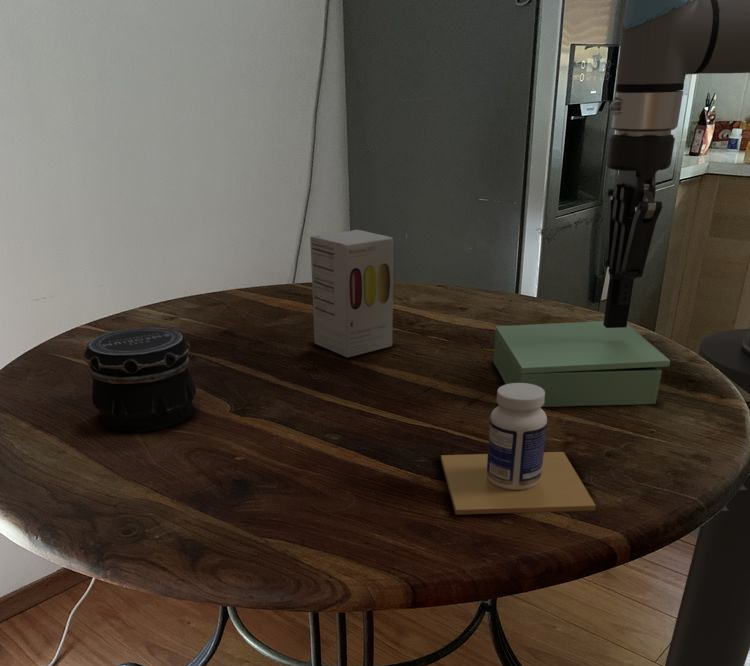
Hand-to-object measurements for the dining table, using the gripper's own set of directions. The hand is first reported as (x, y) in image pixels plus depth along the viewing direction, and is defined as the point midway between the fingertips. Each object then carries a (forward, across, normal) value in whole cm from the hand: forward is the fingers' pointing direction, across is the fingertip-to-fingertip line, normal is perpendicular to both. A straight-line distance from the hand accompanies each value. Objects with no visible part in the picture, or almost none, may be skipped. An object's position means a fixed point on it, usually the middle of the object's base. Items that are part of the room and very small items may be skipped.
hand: (614, 325), depth 100 cm
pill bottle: (+7, +29, -20) cm, 36 cm away
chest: (+8, 0, -6) cm, 10 cm away
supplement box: (+8, -18, -36) cm, 41 cm away
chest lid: (+3, 0, -5) cm, 6 cm away
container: (+7, +8, -62) cm, 63 cm away
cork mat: (+8, +29, -20) cm, 36 cm away
